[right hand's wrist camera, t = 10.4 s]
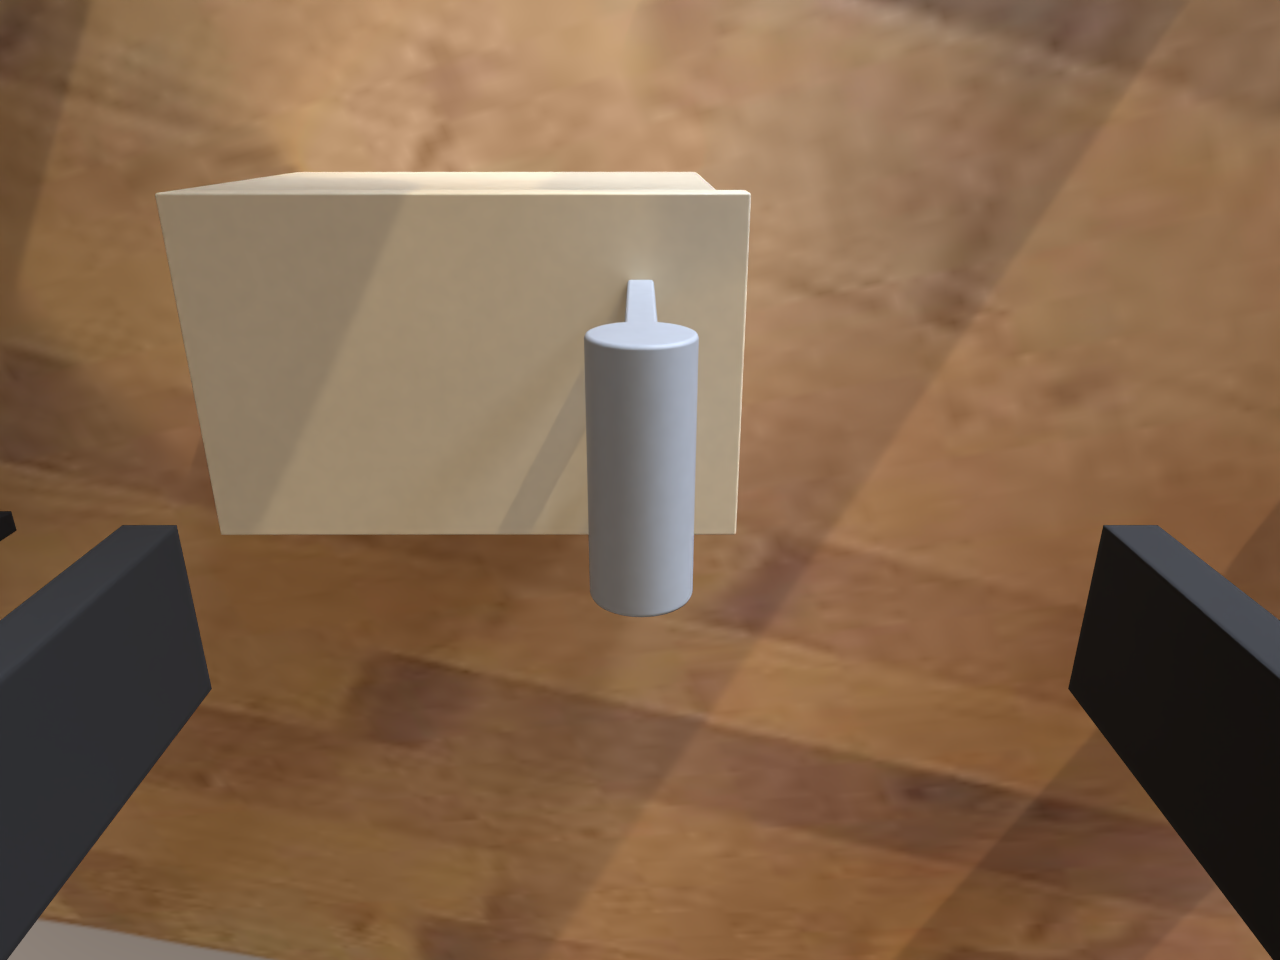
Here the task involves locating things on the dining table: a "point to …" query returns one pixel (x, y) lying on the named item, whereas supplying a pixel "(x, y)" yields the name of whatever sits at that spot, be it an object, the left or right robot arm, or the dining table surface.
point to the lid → (472, 366)
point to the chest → (470, 181)
